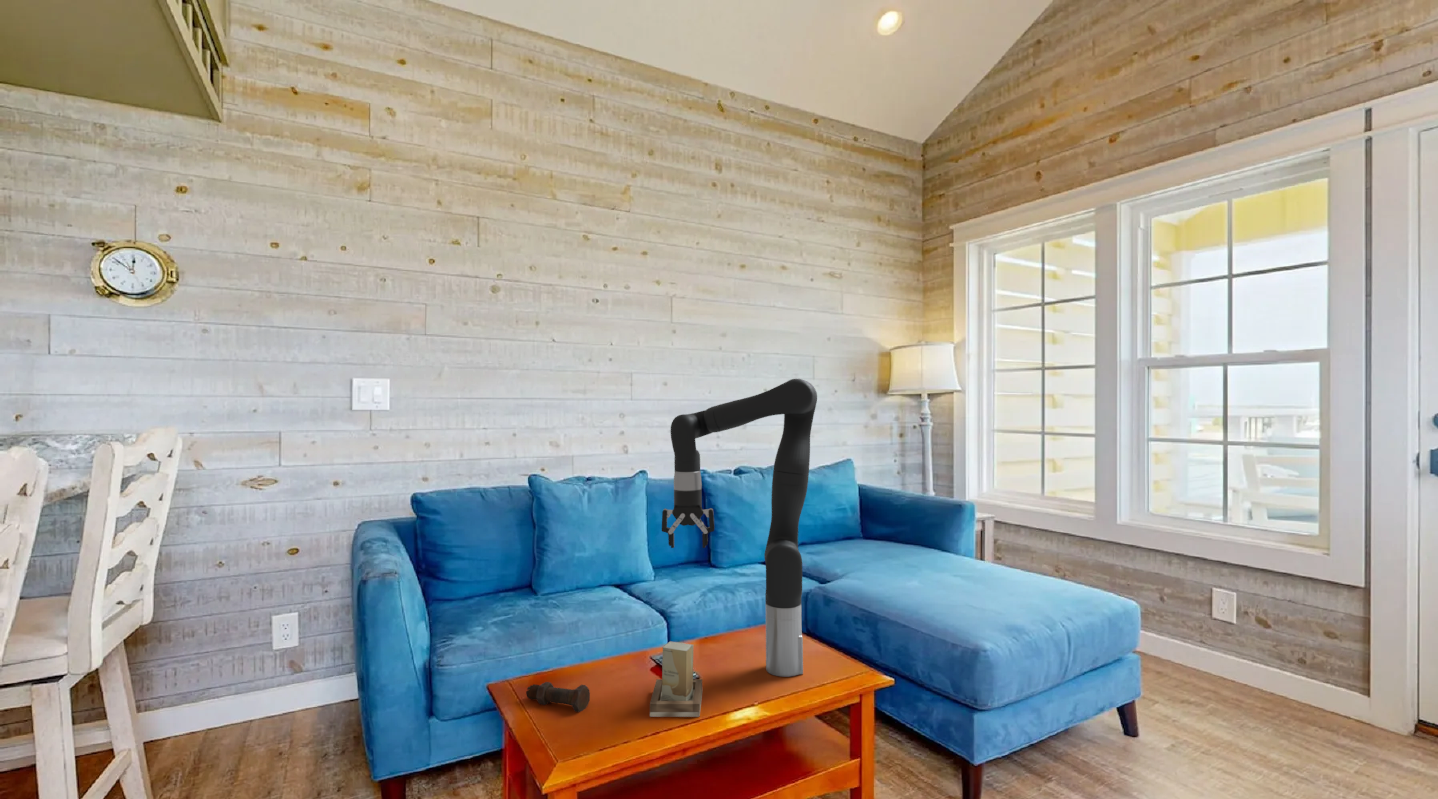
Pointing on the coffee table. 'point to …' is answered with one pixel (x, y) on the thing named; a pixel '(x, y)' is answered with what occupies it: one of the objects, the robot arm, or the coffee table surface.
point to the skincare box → (677, 672)
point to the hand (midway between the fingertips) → (688, 547)
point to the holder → (676, 703)
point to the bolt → (560, 695)
